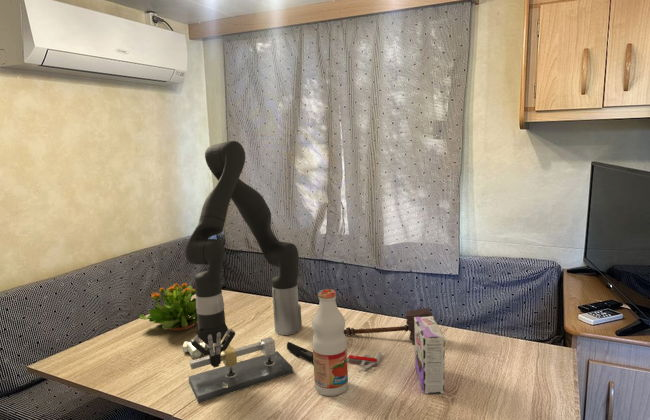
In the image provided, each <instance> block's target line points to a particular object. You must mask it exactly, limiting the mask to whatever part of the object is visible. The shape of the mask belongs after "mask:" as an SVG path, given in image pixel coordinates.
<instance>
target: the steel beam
mask: <svg viewBox="0 0 650 420" xmlns="http://www.w3.org/2000/svg"><path fill="white" fill-rule="evenodd" d="M234 349H235V351H236V357H237V358H238V357H241V356H245V355H248V354H252V353H255V352H260V351H261V353H262V354H263V355H265V356H267V358H268V362H271V354H274V353H276V341H275V339H274V338H273V337H271V336H269V337H266V338H265V337H264V338H261V339H260V341H258V342H255V343H251V344H248V345H244V346H241V347H236V348H234ZM220 358H221V362H223V355H222V354H221V353H220ZM210 365H211V364H210V359H209V355H207V356H204V357H203V356H202V357H198V358H195V359H193V360H189V366H190V369H191V370H195V369H198V368H202V367H206V366H210Z"/></svg>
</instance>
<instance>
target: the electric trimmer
mask: <svg viewBox="0 0 650 420" xmlns="http://www.w3.org/2000/svg"><path fill="white" fill-rule="evenodd" d="M286 349H287V351H289V352H290V353H291V354H293V355H295V357H297V358H302V359H304V360H306V361H307V362H310V363H311V364H312V366H313V367H314V363H313V351H310V350H308V349H306V348H304V347H301V346H299V345H297V344H295V343H293V342H290V341H288V342H287V343H286Z"/></svg>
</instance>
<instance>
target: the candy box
mask: <svg viewBox="0 0 650 420" xmlns="http://www.w3.org/2000/svg"><path fill="white" fill-rule="evenodd" d="M414 326H415V345H414V361H415V362H414V367H415V368H414V369H415V372H416V374H417V378H418V381H419V384H420V386H421V390H422V393H423V395H442V394H443V395H444V394H445V353H446V352H445V344H446V343H445V342H446V341H445V340H446V339H445V335H444V334H443V332H442V330H441V329H440V326H439V325H438V322H436V319H435V316H433V315H432V316H424V317H414Z"/></svg>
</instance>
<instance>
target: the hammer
mask: <svg viewBox="0 0 650 420" xmlns="http://www.w3.org/2000/svg"><path fill="white" fill-rule="evenodd" d="M424 316H433V313H432V311H431V308H430V307H426V308H420V309H419V308H418V309H412V310H407V311H406V314H405V319H406V321H405V323H406V324H404V325H403V326H402V325H401V326H389V327H386V326H385V327H375V328H374V327H372V328H356V329H355V327H345V329H344V334H345V335H346V336H347V337H350V336H351V335H352V336H355V335H358V334H374V333H375V334H377V333H389V332H391V333H392V332H402V331H403V332H404V331H405V332H408V331H409V341H411V345H412V346H415V326H414V317H424Z"/></svg>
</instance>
